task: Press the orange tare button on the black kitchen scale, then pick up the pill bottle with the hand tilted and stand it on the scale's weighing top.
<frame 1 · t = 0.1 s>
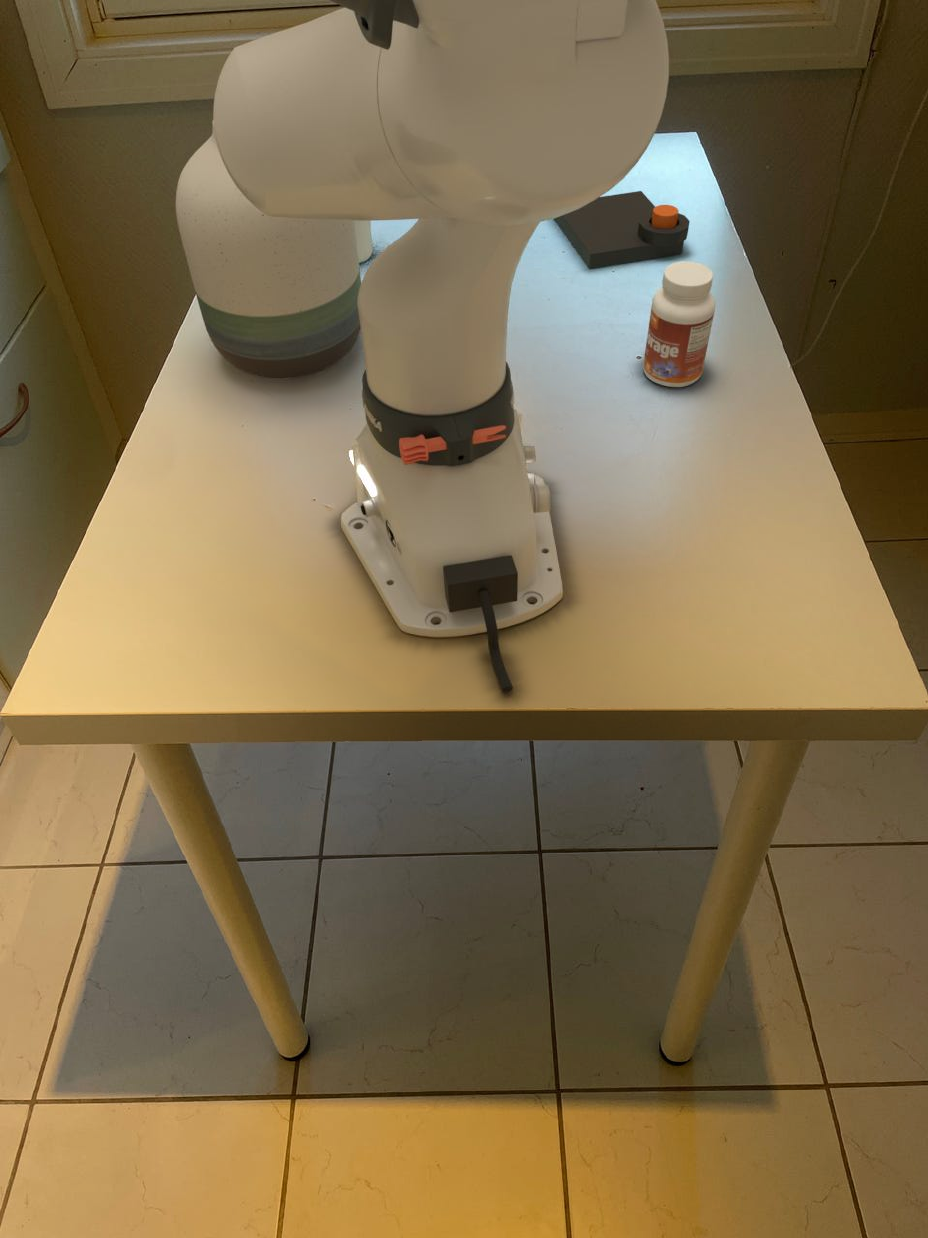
drinking glass: (351, 257, 116), on the table
vase: (292, 351, 102), on the table
scale: (615, 235, 117), on the table
tare button: (664, 217, 112), point 4 cm above the table, slide at 0.1 cm
pill bottle: (672, 373, 97), on the table
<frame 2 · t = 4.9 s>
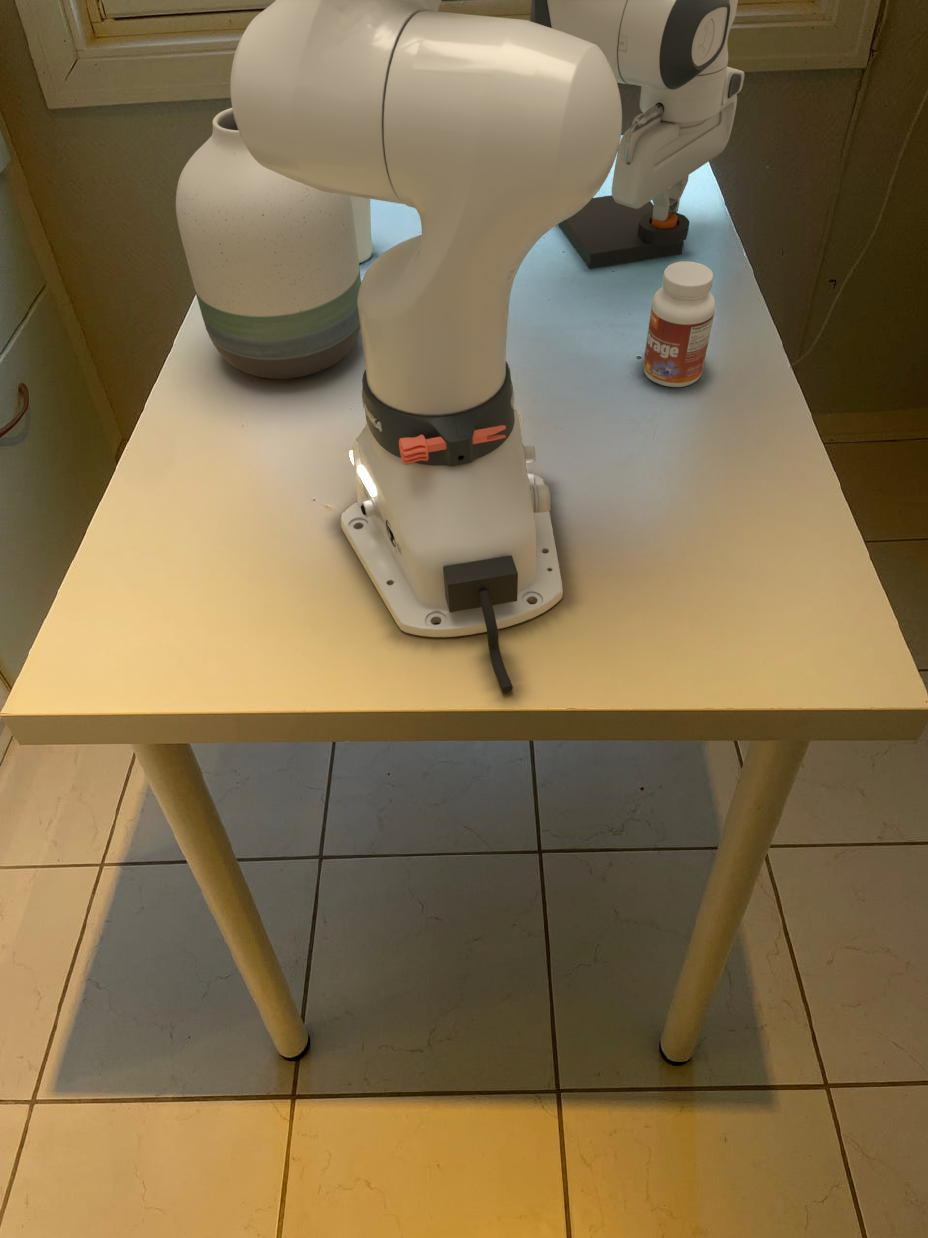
hand: (665, 215, 112), 4 cm above the table, tool pointing down, fingers closed, pressing on tare button
tare button: (663, 223, 112), point 3 cm above the table, slide at -0.7 cm, touching gripper
everything else where it was.
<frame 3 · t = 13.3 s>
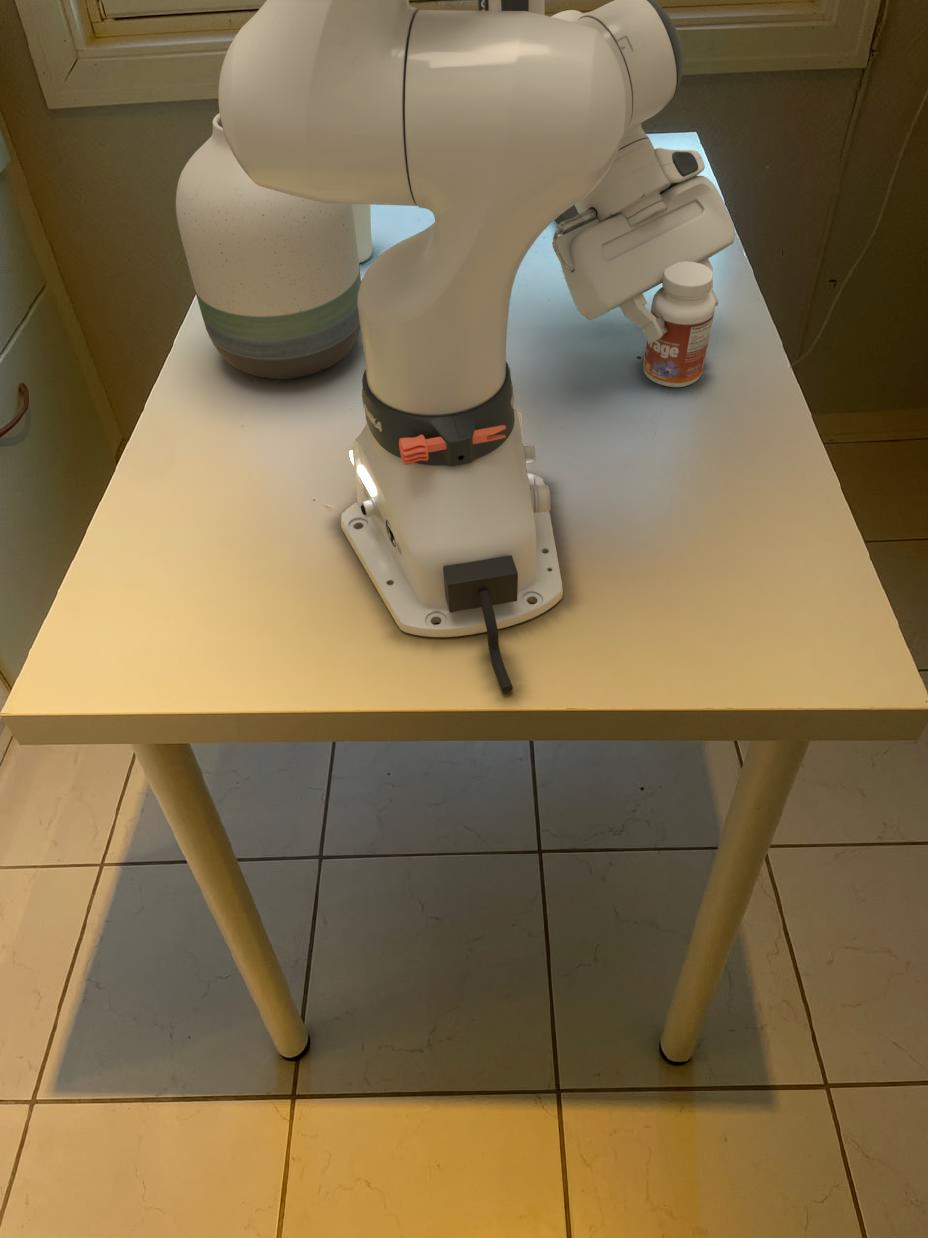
hand: (685, 323, 93), 6 cm above the table, tool tilted 45°, fingers closed on pill bottle, 6 cm apart
tare button: (664, 217, 112), point 4 cm above the table, slide at 0.1 cm
pill bottle: (671, 373, 97), on the table, touching gripper
everything else where it was.
when the fingers open (8 cm above the table, at t = 24.1 s): pill bottle stays where it is, resting on scale.
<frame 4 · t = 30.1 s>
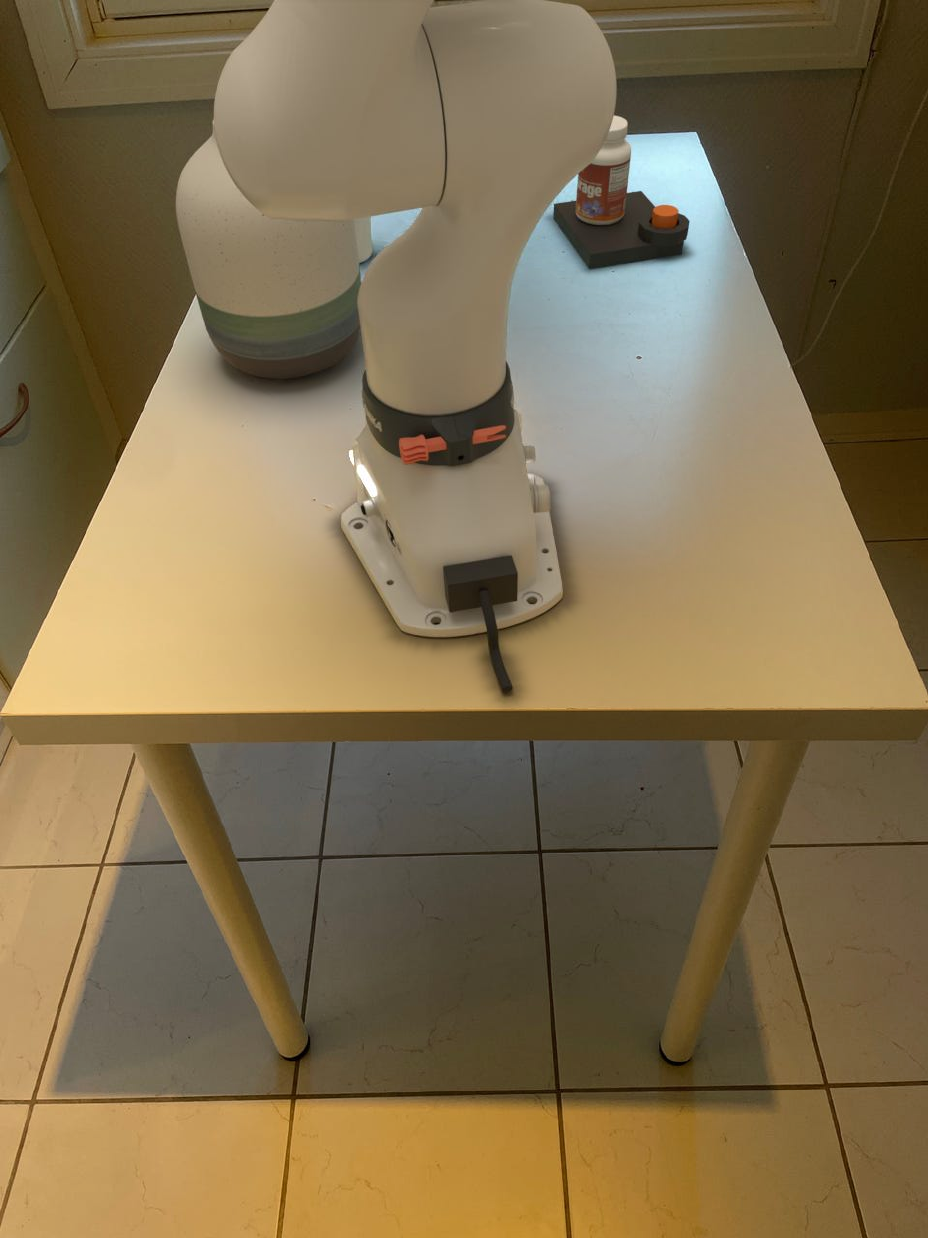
pill bottle: (599, 217, 117), point 2 cm above the table, touching scale
everything else where it was.
at the end: tare button pushed in 0.8 cm at the most during the clip, back to where it started at the end; pill bottle inside the target area on the scale (2.5 cm from its centre), point 1.7 cm above the scale's base; pill bottle touching scale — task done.
